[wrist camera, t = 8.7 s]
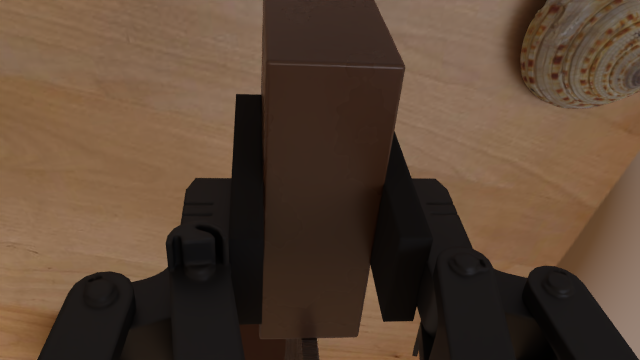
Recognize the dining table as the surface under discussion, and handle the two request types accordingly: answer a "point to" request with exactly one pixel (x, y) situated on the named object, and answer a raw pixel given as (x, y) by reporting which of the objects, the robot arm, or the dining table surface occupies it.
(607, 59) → the seashell
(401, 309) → the robot arm
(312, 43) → the knife
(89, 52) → the dining table surface
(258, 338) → the beige square block
